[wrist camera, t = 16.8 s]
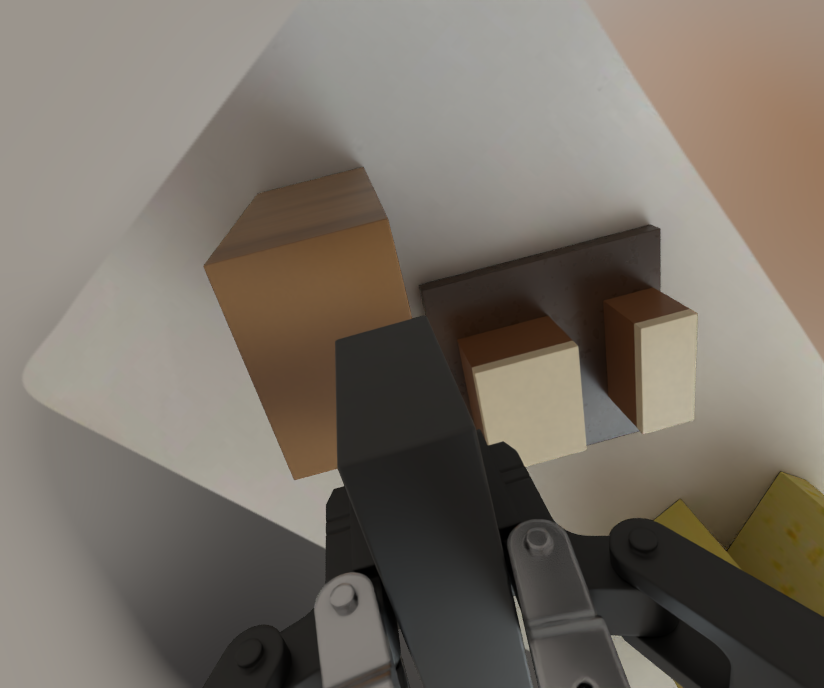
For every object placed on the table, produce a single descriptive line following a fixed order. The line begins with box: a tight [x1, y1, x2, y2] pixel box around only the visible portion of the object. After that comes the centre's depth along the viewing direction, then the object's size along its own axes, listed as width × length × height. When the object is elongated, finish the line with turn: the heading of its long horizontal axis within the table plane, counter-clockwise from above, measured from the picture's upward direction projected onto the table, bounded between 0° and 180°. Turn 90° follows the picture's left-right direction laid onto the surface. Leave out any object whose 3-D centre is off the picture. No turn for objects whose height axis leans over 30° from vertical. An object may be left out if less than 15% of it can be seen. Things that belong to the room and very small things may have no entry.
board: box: [419, 225, 660, 446], centre depth 47 cm, size 20×20×2 cm
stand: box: [204, 167, 412, 480], centre depth 32 cm, size 12×8×18 cm, turn 12°
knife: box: [335, 316, 533, 688], centre depth 16 cm, size 22×2×5 cm, turn 13°
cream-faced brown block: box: [457, 316, 587, 467], centre depth 43 cm, size 10×8×6 cm
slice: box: [603, 287, 698, 434], centre depth 43 cm, size 10×4×6 cm, turn 13°
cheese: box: [654, 472, 824, 688], centre depth 56 cm, size 26×26×15 cm
